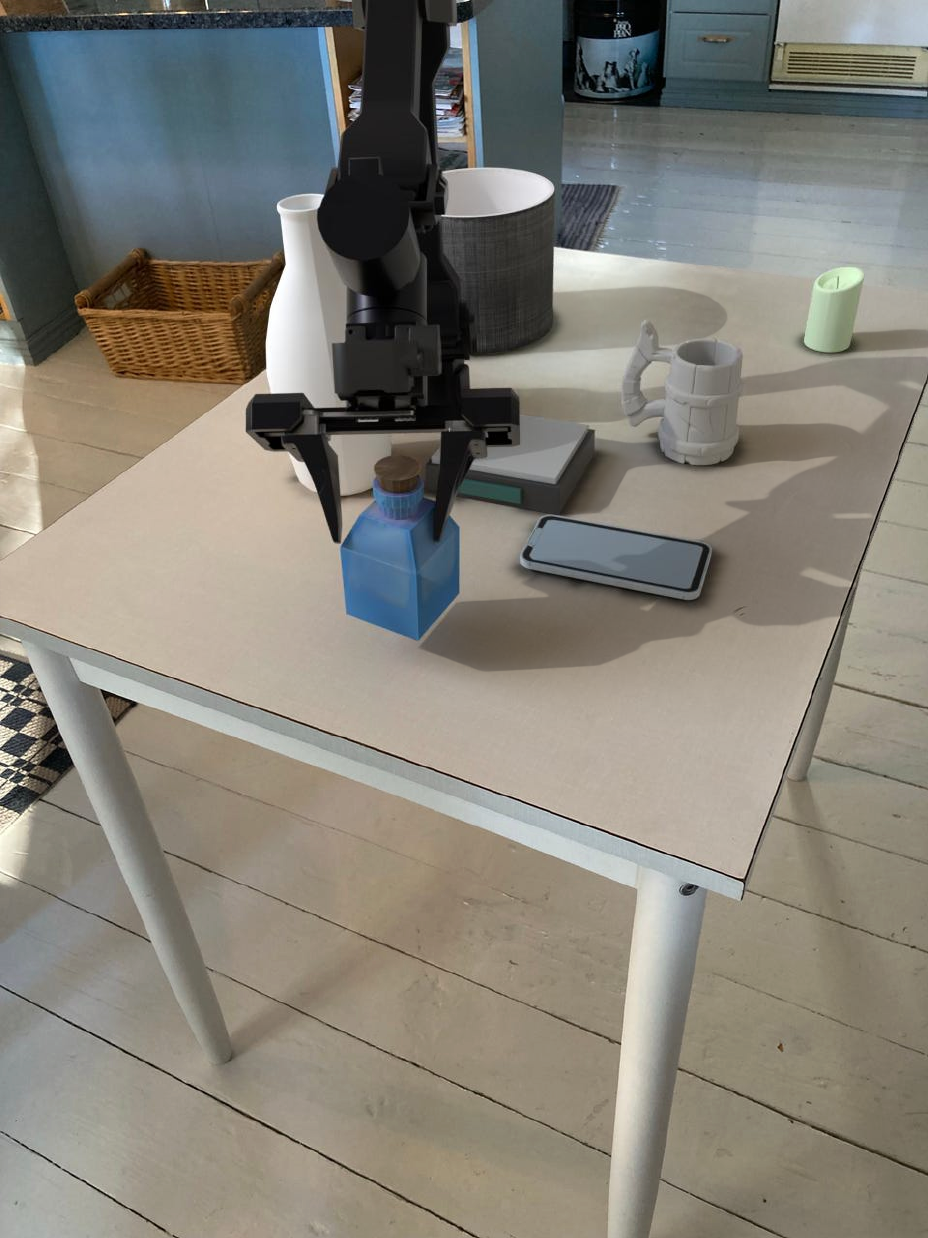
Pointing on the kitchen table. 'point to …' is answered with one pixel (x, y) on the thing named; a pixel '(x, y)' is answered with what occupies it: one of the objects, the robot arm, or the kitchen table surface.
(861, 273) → the candle
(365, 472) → the bottle
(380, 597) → the perfume bottle
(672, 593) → the smartphone
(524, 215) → the planter
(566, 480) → the scale
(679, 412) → the mug
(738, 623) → the kitchen table surface
